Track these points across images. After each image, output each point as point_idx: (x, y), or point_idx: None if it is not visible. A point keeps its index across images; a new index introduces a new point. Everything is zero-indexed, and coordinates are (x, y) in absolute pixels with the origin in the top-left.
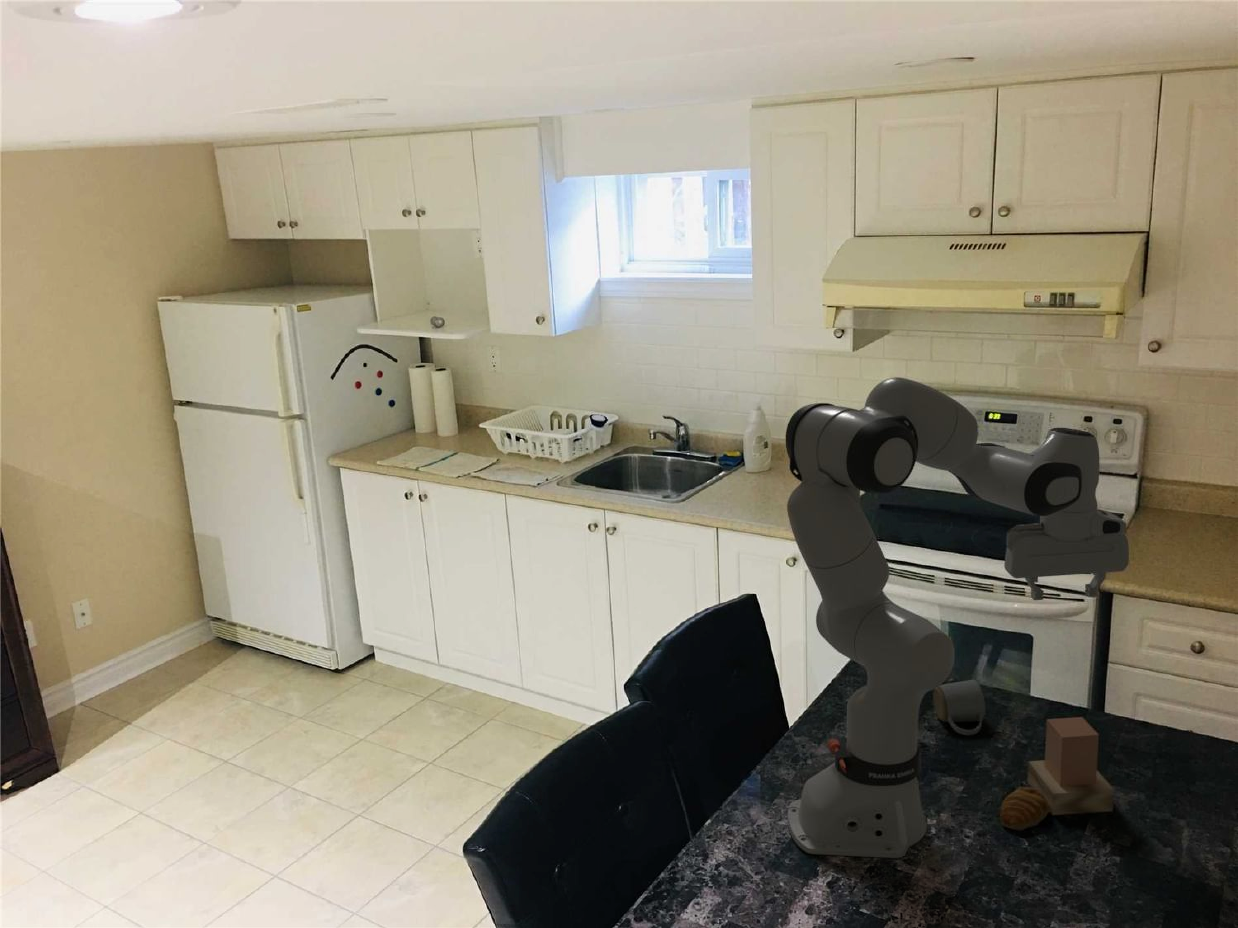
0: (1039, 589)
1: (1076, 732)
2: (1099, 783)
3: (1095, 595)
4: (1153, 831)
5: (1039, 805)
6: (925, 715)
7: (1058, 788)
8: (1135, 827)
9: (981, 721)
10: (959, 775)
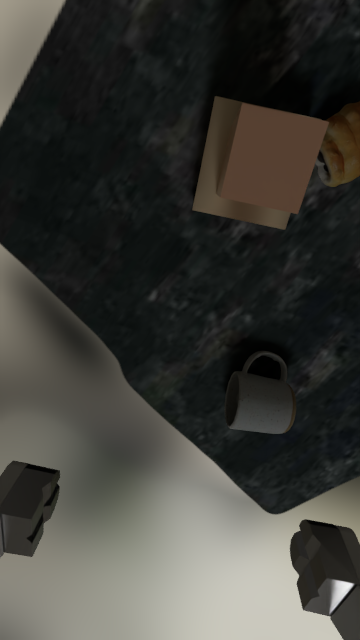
0: (329, 595)
1: (281, 133)
2: (225, 124)
3: (23, 464)
4: (192, 22)
5: (345, 118)
6: None
7: None
8: (211, 45)
9: (250, 361)
10: (352, 271)
